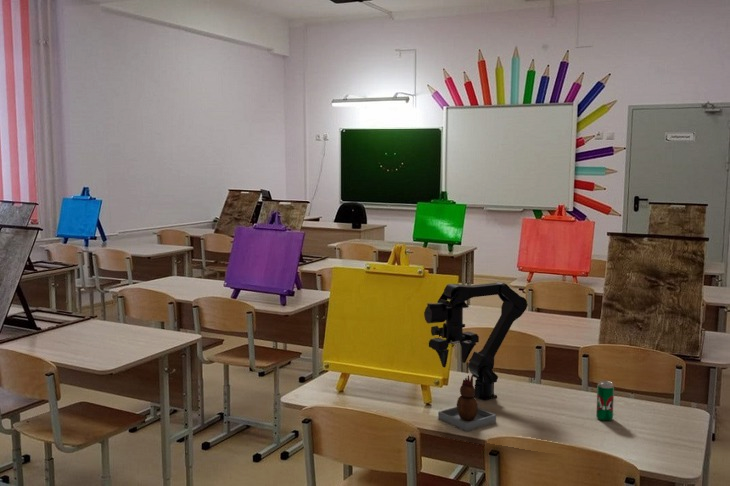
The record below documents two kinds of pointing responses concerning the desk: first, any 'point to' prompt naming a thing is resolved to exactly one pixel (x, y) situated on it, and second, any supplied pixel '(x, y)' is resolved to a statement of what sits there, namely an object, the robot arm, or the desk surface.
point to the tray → (455, 420)
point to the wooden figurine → (467, 400)
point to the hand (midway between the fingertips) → (453, 364)
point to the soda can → (605, 400)
